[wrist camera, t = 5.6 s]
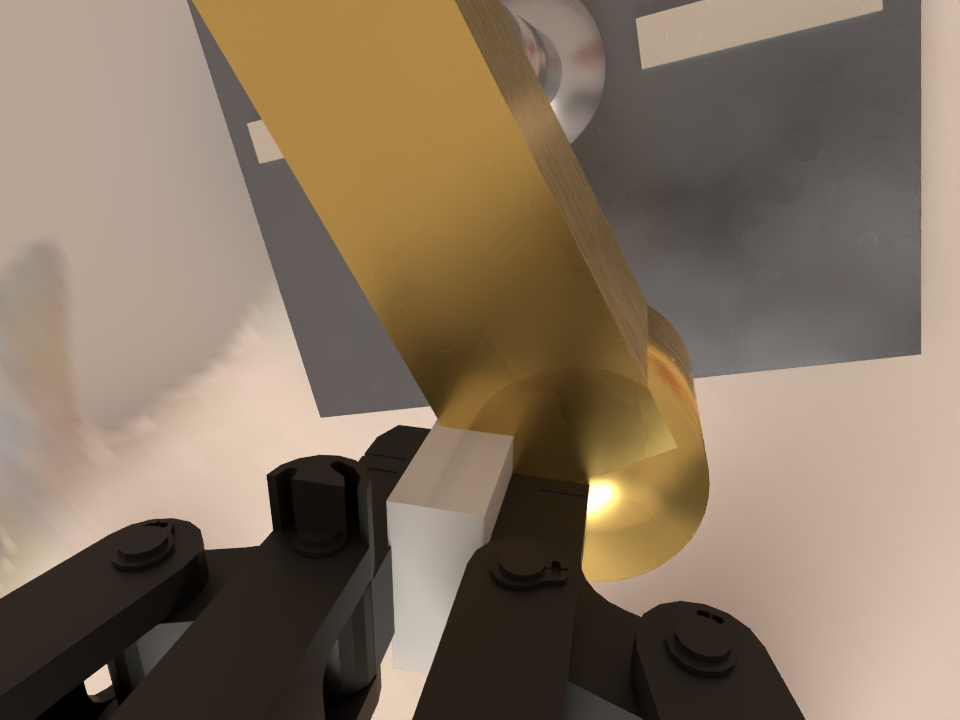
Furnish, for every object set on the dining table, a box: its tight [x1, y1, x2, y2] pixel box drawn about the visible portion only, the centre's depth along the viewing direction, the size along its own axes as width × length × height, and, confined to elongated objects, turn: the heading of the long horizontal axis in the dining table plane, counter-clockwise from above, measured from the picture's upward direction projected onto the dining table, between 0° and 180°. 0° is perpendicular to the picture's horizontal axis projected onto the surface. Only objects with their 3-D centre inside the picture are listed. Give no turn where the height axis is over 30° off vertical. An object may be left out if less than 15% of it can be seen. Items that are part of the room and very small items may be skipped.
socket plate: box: [187, 0, 921, 418], centre depth 18 cm, size 22×22×8 cm
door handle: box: [192, 0, 710, 582], centre depth 11 cm, size 4×18×7 cm, turn 30°
